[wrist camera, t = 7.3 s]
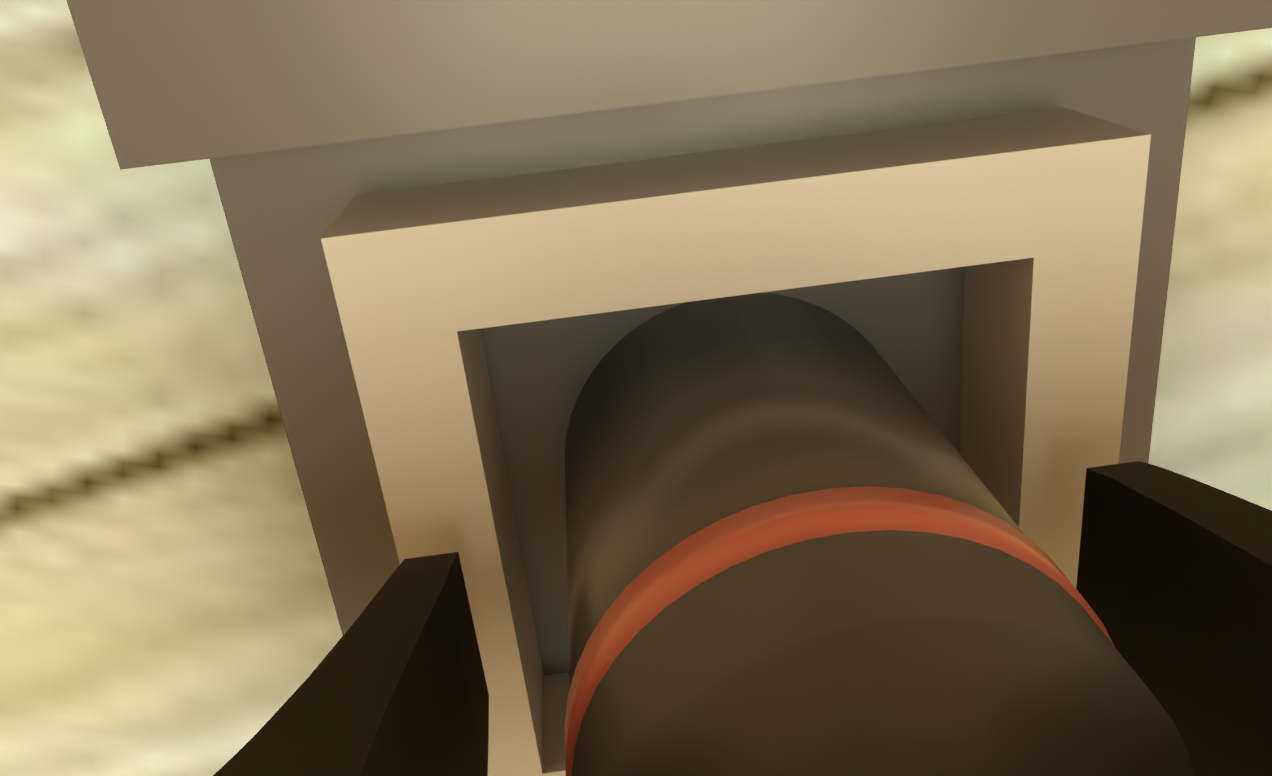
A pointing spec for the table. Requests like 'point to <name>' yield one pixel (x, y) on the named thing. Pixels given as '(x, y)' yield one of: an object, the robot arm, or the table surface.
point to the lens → (814, 576)
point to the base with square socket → (661, 240)
